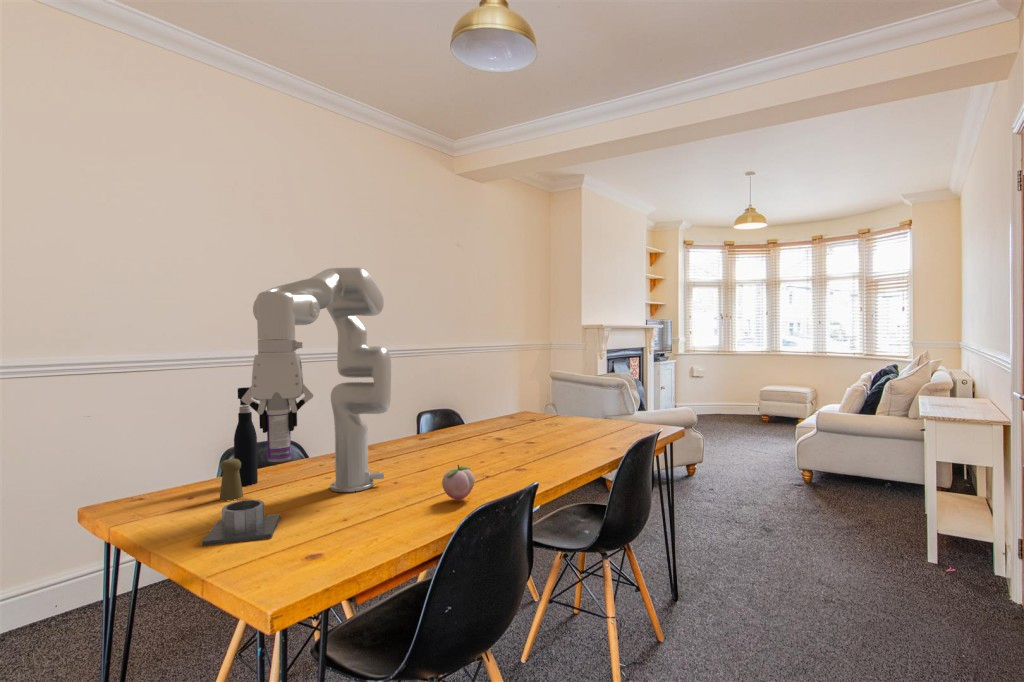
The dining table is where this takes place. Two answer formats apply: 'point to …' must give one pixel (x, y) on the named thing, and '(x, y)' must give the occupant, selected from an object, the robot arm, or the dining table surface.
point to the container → (278, 429)
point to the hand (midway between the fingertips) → (278, 430)
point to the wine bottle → (246, 443)
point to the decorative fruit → (458, 482)
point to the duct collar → (242, 523)
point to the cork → (231, 480)
